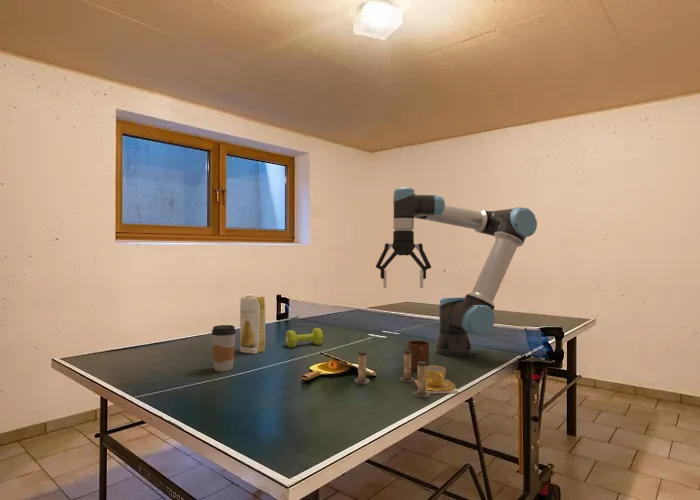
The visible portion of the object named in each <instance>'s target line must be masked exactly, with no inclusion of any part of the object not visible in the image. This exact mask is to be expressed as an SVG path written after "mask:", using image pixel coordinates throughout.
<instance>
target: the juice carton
mask: <svg viewBox="0 0 700 500" xmlns="http://www.w3.org/2000/svg"><path fill="white" fill-rule="evenodd" d="M239 311H240V313H239V346H240V347H239V349H240V351H239V352H241V353H245V354H253V355H256V354H259V353H261V352H264V351H265V347H266V346H265V345H266V297H265V296H255V294H254V293H249V294H247V295H246V296H241V297H240V305H239Z"/></svg>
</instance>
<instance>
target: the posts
mask: <svg viewBox="0 0 700 500" xmlns="http://www.w3.org/2000/svg"><path fill="white" fill-rule="evenodd" d="M411 353H412V351H411V350H408V349H403V376H401V377H399V381H400V382H402V383H407V384H408V383H409V384H411V383H415V380H417V385H416V386H417V388H416V389H417V390H415V391H413V392H412V396H413V397H415V398H418V399H428V398H430V397H431V393H429V392H426V362H423V361H419V362H417V365H418V371H417V379H416V378H415V377H413V376H412V370H411ZM357 355H358V364H357V365H358V369H357V371H358V378H355V379H354V384H357V385H369V384H370V383H371V380H370V379H369V378H367V351H363V350H362V351H358V352H357Z"/></svg>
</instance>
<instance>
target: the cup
mask: <svg viewBox="0 0 700 500" xmlns="http://www.w3.org/2000/svg"><path fill="white" fill-rule="evenodd" d="M446 370H447V369H446V367H445V366H442V365H429V366H426V389H427V390H434V391H445V390H450V389H453V388H454V387H455V388H456V384H455V383H454V382H452V381H450V380H449V381H447V380H448V379H445V378H446V377H445V376H446V373H447V371H446ZM415 385H416V386H417V382H416V383H415Z"/></svg>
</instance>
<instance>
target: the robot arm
mask: <svg viewBox="0 0 700 500" xmlns="http://www.w3.org/2000/svg"><path fill="white" fill-rule="evenodd" d="M392 202H393V226H392V227H393V233H392V234H393V235H392V236H393V239H392V241H393V242H392V244H391V243H387V242H386V243H384V247H383V248H384V249H383V251H382V252H381V254H380V256H379V259H378V260H377V262H376V265H375V268H376V269H378V270H380V279H382V284H383V286H382V287H383V289H387V269H386V268H387V267H388V266H389V264H390V263H392V261H393V260H394V259H395V258H396V256H410V257H411V258H412V260H414V262H415V263H416V264H417V266H419V267H420V270H419V288H420V289H424V280H426V279H427V270H430V269H431V268H432V266H431V263H430V260H429V259H428V257H427V255H426V253H425V251H424V248H423V247H424V245H423V243H421V242H420V243H417V244H416V243H415V233H414V228H415V219H418V220H424V221H430V222H435V223H440V224H445V225H450V226H451V225H452V226H455V227H462V228H464V229H465V228H466V229H471V230H474V232H476V233H480V234H483V235H488V236H492V237H495V241H494V242H493V245H492V246H491V247H492V248H491V249H490V252H489V254H488V257H487V258H486V260H485V263H484V265H483V267H482V269H481V271H480V273H479V275H478V278H477V280H476V282H475V284H474V286H473V288H472V291H471V292H469V293H466V294H465V296H464V297H463V296H462V297H461V296H460V297H442V298H441V299H440V300H439V306H438V308H439V331H438V332H439V334H438V336H437V338H436V339H437V340H436V343H435V345H434V351H435V353H436V354H439V355H442V356H447V357H468V356H471V355H473V346H472V343H471V339H470V337H469V335H475V336H483V335H486V334H487V333H489V332H490V331H491V330H492V328H493V327H494V325H495V322H496V316H495V312H494V309H495V307H496V306H495V304H494V300H495V298H496V296H497V293H498V290H499V289H500V287H501V284H502V282H503V280H504V278H505V275H506V273H507V271H508V268H509V266H510V264H511V262H512V259H513V257H514V255H515V253H516V251H517V248H520V247H522V246H523V245H524V243H525V240H526V238H528V237H530V236H532V235H534V234H535V232H536V231H537V227H538V221H537V219H536V215H535V213H534V212H533V211H532V210H530V208H528V207H522V206H521V207H520V206H519V207H518V206H517V207H514V208H508V209H507V208H506V209H499V210H492V211H491V210H484V209H483V210H481V209H480V210H478V211H477V210H471V209H466V208H462V207H456V206H452V205H447V204H446V202H445V199H444V197H443V196H441V195H435V194H432V195H431V194H416V193H415V189H414V188H412V187H399V188H395V190H394V191H393V200H392ZM391 248H392V250H393V252H392V253H391V254H390V256H388V258H387V259H386V261H384V260H385V257H386V255H387V253H388V251H389V250H390V249H391ZM415 248H416V250H417V251H418V252H419V254H420V257H421V258H422V259H419V257H418V256H417V255H416V253H415V252H414V249H415ZM383 261H384V263H383ZM422 261H423V262H422ZM382 263H383V264H382Z"/></svg>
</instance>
